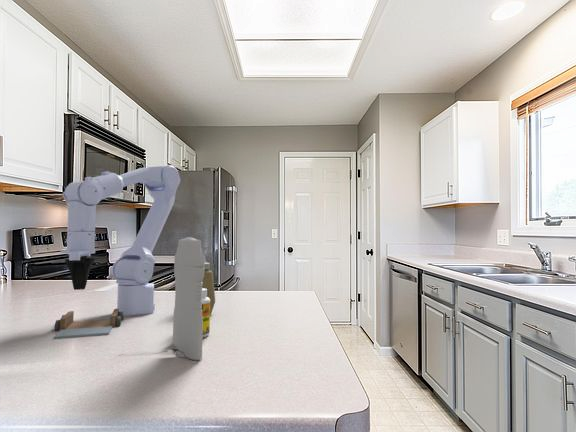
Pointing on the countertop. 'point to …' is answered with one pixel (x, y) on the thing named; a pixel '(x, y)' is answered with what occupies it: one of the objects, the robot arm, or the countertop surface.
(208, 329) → the supplement bottle
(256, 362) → the countertop surface
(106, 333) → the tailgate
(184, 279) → the tall pale column
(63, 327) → the cart bed
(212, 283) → the squeeze bottle
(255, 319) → the countertop surface
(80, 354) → the countertop surface
